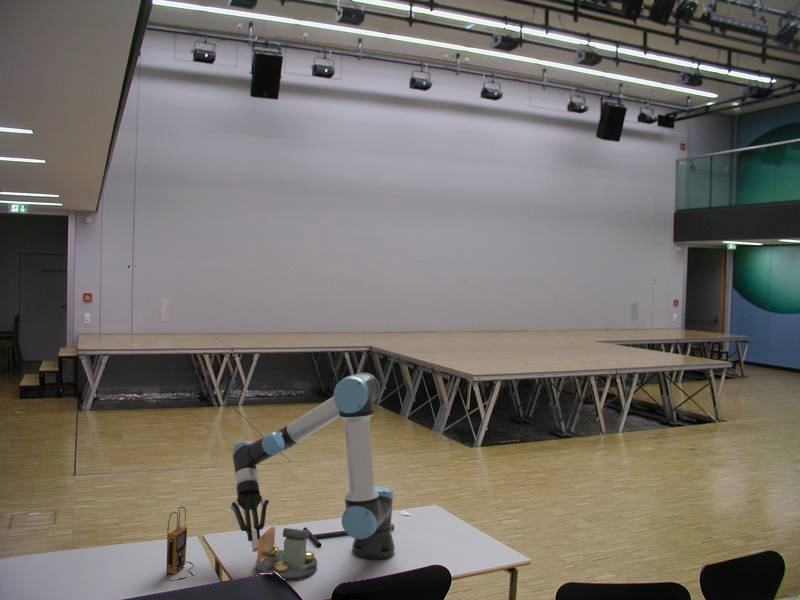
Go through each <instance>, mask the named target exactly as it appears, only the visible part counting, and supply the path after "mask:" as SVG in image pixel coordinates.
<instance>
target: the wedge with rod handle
mask: <svg viewBox="0 0 800 600" xmlns="http://www.w3.org/2000/svg"><path fill="white" fill-rule="evenodd" d="M309 535H310V531H309V530H308V529H307V530H306V529H297V528H289V527H288V528H287V527H286V528H285V527H284V528H283V531H282V537H283V538H285V539H284V541H283V550H284V556H283V562H287V563H288V568H290V569H300V570H301V569H302V567H303V565H304V564H305V560H306V551H307V542H308V539H309Z"/></svg>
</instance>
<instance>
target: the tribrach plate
mask: <svg viewBox="0 0 800 600" xmlns="http://www.w3.org/2000/svg"><path fill="white" fill-rule="evenodd" d="M283 556H284V549H279V555H278V556H276V557H268V556H267V557H266V558H265V559H264V560H263V561H262V562H257V560H256V561H255V571H256V570H257V571H256V572H257V573H258V572H259V573H273V572H274V571H275V572H277V573H278V574H279V575H280V576H281V577H282V578H283V579H285V580H286V581H289V582H290V581H297V580H298V581H299V580H304V579H307V578H309V577H311V576H313V575H314V574H315V573H316V572H317V569H318V560H317V558H316V557H315V552H313V551H310V550H306V560H305V564H304V565H303V567H302V569H301V570H300V569H290V568H288V563H287V562H283ZM259 573H258V574H259ZM286 581H285V582H286Z"/></svg>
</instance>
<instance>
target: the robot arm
mask: <svg viewBox="0 0 800 600" xmlns="http://www.w3.org/2000/svg"><path fill="white" fill-rule="evenodd" d="M380 387H381V386H380V383H379V381H378V379H377V377H375V376H374V375H373V374H372V373H368V372H358V373H356V374H353V375H347V376H346V377H344V378H343V379H341V380H340V381H339V382H337V384H336V386H335V387H334V390H333V396H332V397H330V398H329V399H327V400H325V401H324V402H322V403H320V404H319V405H318V406H316V407H314V408H312V409H311V410H309V411H307V412H305V414H303V415H301V416H299V417H298V418H296V419H294V420H293V421H292V422H290V423H288V424H287V425H285V426H284V427H282V428H280V429H279V430H276V431H272V432H271V433H270V432H269V433H268V434H265V435H264V436H262V437H261V438H259V439H257V440H256V441H254V442H251V441H249V440H247V441H245V440H243V441H239V442H237V443H236V444H234V446H233V447H232V461H233V462H232V463H233V468H234V477H235V485H236V494H237V498H236V501H233V502H232V503H231V505H230V509H231V510H232V511H233V512H234V515H235V518H236V520H237V524H238V525H239V528H240V531H242V532H246V534H247V540H248V542H250V543H251V551H252V553H255V552H258V539H259V538H260V537H261V534H260V531H261V530H263V529H264V527H265V525H266V524H265V523H266V513H267V507H268V504H269V502H270V501H269V500H268V499H266V500H265V499H263V497H262V495H261V493H260V491H261V490H260V485H259V478H258V477H259V476H258V471H257V470H258V469H257V466H258V465H259V464H261V463H263V462H265V461H267V460H268V459H271V458H272V457H275V456H277V455H278V454H280V453H282V452H284V451H287V450H289V449H291V448H292V447H293V446H295V445H296V444H298V443H299V442H301V441H303V440H304V439H306V438H308V437H309V436H310V435H312V434H314V433H316V432H318V430H320V429H322V428H323V427H326V426H327V425H329V424H330V423H332V422H334V421H335V420H337V419H339V418H341V420H343V422H344V433H345V434H344V436H345V450H346V452H345V454H346V466H347V483H348V492H347V493H346V495H344V505H345V510H344V511H343V513H342V515H341V526H342V529H343V530H344V532H345V533H346V534H347V535H348V536H349V537H351V538H353V541H352V546H351V547H352V549H351V550H352V551H351V552H352V554H353V555H355V556H357V557H359V558H362V559H364V560H365V559H366V560H385V559H388V558H390V557H392V556H394V554H395V541H394V539H393V535H392V529H391V528H392V519H393V517H392V516H393V515H392V514H393V501H394V496H393V495H394V494H393V492H394V491H393V490H391V489H390V488H388V487H384V486H378V485H374V484H375V481H374V479H375V478H374V467H373V449H372V438H371V437H372V435H371V421H370V420H371V417H373V415H374V414H375V413H374V411H375V410H374V402H375V401H376V400H377V399H378V397H379V395H380V392H381V391H380V390H381V388H380ZM259 506H261V510H260V511H261V512H260V519H259V514H258V513H259V512H258V507H259ZM240 507H241V509H242V510H243V514H244V517H243V515H242V512H241V510H240ZM251 515H252V518H251ZM244 519H245V520H244ZM251 520H252V521H251ZM252 522H253V528H252Z"/></svg>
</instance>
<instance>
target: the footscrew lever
mask: <svg viewBox="0 0 800 600" xmlns="http://www.w3.org/2000/svg"><path fill="white" fill-rule="evenodd" d="M275 536H276V527H275V526H270V527H269V528H268V529H267V530H266V531H265V532H264V533H263V534H262V535H260V538H259V539H258V550H257V553H256V554H257V555H256V556H257V557H256V558H257V559H256V561H257V562H262V561H263V560H264V559H265V558H266V557H267V556H268V557H276V556H278V555H279V550H280V548H279V546H277V544H275V539H276V538H275Z"/></svg>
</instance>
